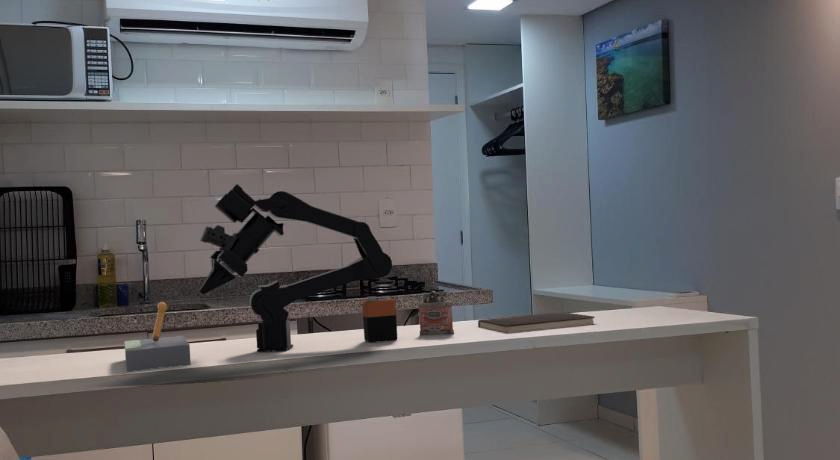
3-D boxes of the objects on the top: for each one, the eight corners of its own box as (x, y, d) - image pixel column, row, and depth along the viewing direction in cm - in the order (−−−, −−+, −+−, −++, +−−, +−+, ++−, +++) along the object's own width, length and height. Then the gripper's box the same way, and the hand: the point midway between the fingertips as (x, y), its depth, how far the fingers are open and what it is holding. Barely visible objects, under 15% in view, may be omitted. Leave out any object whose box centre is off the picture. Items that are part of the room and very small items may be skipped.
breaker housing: (183, 353, 177) (182, 334, 177) (190, 364, 160) (189, 343, 160) (125, 359, 172) (124, 340, 172) (126, 371, 155) (125, 349, 156)
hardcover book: (595, 326, 189) (594, 316, 189) (506, 335, 181) (506, 325, 181) (561, 320, 204) (560, 311, 204) (478, 329, 196) (477, 319, 196)
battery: (363, 341, 181) (361, 296, 181) (392, 338, 183) (390, 294, 183) (368, 343, 177) (366, 298, 177) (398, 340, 179) (395, 295, 179)
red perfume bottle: (418, 335, 185) (415, 292, 185) (421, 333, 188) (419, 291, 188) (452, 334, 183) (449, 291, 183) (455, 332, 187) (452, 290, 187)
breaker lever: (158, 340, 168) (167, 303, 169) (159, 342, 165) (168, 304, 165) (150, 339, 167) (158, 301, 168) (150, 341, 164) (159, 302, 165)
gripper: (217, 214, 180) (168, 267, 176) (227, 210, 163) (174, 268, 159) (254, 247, 183) (207, 300, 179) (268, 247, 166) (217, 305, 162)
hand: (201, 293), depth 170 cm, fingers closed
